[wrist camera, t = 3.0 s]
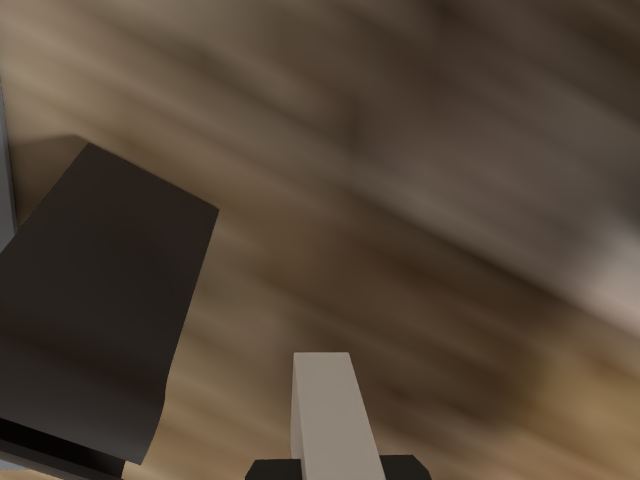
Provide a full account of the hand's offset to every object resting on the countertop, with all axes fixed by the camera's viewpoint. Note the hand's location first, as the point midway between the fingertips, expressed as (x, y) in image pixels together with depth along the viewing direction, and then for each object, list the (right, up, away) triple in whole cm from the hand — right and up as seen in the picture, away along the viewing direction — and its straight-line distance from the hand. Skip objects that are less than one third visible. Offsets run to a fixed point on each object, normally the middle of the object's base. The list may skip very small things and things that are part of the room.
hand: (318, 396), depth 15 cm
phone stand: (-9, +3, +10) cm, 14 cm away
